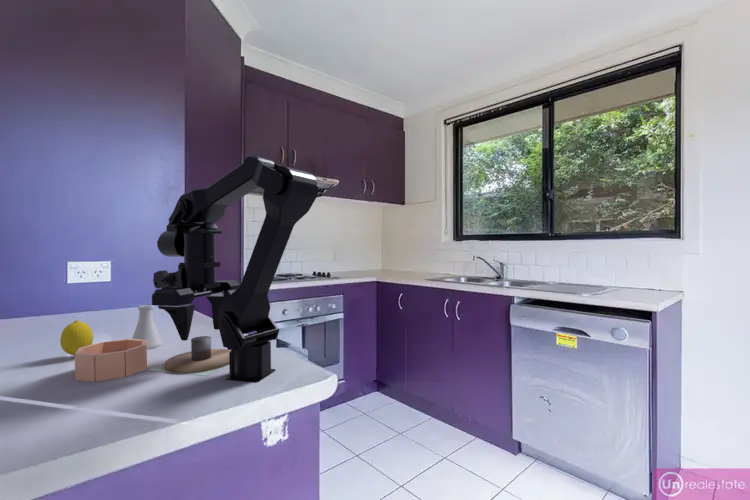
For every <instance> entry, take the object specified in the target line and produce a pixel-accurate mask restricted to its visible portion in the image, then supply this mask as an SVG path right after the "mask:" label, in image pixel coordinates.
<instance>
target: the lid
mask: <svg viewBox="0 0 750 500" xmlns="http://www.w3.org/2000/svg"><path fill="white" fill-rule="evenodd" d="M190 344H191V345H190V347H191V351H187V352H183V353H179V354H176V355H173V356H171V357H169V358H168V359H166V360H165V361H164V363H163V364H164V365H165V369H166V370H167V371H170V372H174V373H173V374H180V373H196V372H204V371H210V370H214V369H218V368H221V367H224V366H226V367H227V365H228V366H229V352H230V351H231V350H228V349H227V348H226V349H225V348H212V336H210V335H209V336H208V335H204V336H203V335H200V336H195V337H192V338H191V339H190ZM224 368H225V367H224Z"/></svg>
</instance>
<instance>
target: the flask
mask: <svg viewBox="0 0 750 500" xmlns="http://www.w3.org/2000/svg"><path fill="white" fill-rule="evenodd" d="M154 308H155V305H152V304H145V305H138V306H137V310H138V313H139V314H138V321H137V325H136V328H135V330H134V333H133V334H132V338H131V339H141V340H147V351H149V350H154V349H157V348H160V347H164V346H165V344H164V342H163V340H162V337H161V335H160V333H159V331H158V328H157V325H156V323H155V319H154V316H153V312H154V311H153V310H154Z"/></svg>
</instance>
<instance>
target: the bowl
mask: <svg viewBox="0 0 750 500" xmlns="http://www.w3.org/2000/svg"><path fill="white" fill-rule="evenodd" d="M147 368H148V350H147V340H141V339H132V338H125V339H124V338H122V339H115V340H107V341H100V342H96V343H92V345H88V346H84V347H81V348H79V349H78V350H77V351H76V353H75V356H74V378H75V379H74V380H76V381H84V382H102V381H109V380H114V379H120V378H121V379H122V378H126V377H129V376H132V375H134V374H136V373H139V372H141V371H144V370H146V369H147Z"/></svg>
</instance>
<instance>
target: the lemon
mask: <svg viewBox="0 0 750 500" xmlns="http://www.w3.org/2000/svg"><path fill="white" fill-rule="evenodd" d="M59 340H60V347H61V349H62V351H64V352H65V353H66V354H68V355H71V356H73V357H75V353H76V351H77V350H78V349H79V348H81V347H84V346H88V345H92V344H94V343H93V341H94V333H93V329H92V328H91V326H90V325H89V324H87V323H86V322H83V321H81V320H74V321H73V322H71V323H69V324H68V325H66V326H65V327H64V328H63V330H62V331H61V334H60V339H59Z"/></svg>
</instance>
